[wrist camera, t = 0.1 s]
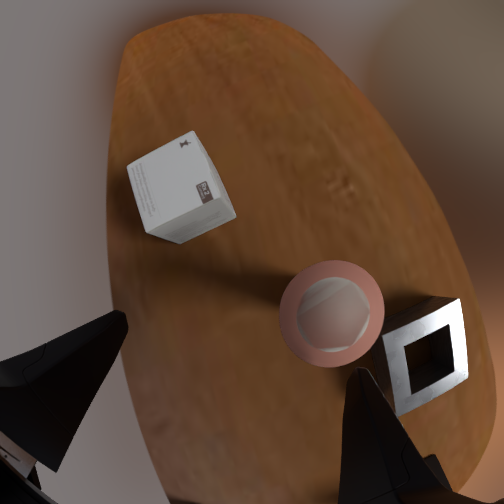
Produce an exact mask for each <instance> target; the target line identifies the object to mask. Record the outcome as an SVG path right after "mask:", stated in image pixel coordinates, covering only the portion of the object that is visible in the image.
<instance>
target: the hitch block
mask: <svg viewBox="0 0 504 504" xmlns="http://www.w3.org/2000/svg"><path fill="white" fill-rule="evenodd" d="M426 335H429V341H430V347H431V354H432V360H430V361H428V362H426V363H425V364H423V365H421V366H419V367H417V368H415V369H413V370H411V371H409V372H408V369H407V362H406V357H405V351H404V346H405V345H408V344H410V343H412V342H414V341H416V340H418V339H420V338H422V337H424V336H426ZM371 352H372V357H373V361H374V366H375V371H376V376H377V381H378V386H379V388H380V390H381V391H382V393H383V394H384V396H385V398H386V399H387V401H388V402H389V404H390V406H391V407H392V409H393V411H394V412H395V414H396V416H397V417H398V416H400V415H403V414H405V413H407V412H409V411H411V410H413V409H415V408H417V407H419V406H421V405H423V404H425V403H426V402H428V401H430V400H432V399H434V398H436V397H437V396H439V395H441V394H443V393H444V392H446V391H448V390H449V389H451V388H453V387H454V386H456V385H457V384H459V383H461V382H462V381H464V380H465V379H467V378H468V365H467V351H466V341H465V332H464V324H463V317H462V311H461V305H460V300H459V298H449V297H439V296H433V297H431V298H429V299H427V300H425V301H423V302H421V303H419V304H417V305H414V306H412V307H410V308H408V309H406V310H403V311H401V312H399V313H396V314H394V315H392V316H389V317H387V318H384V320H383V325H382V328H381V331H380V333H379V336H378V338H377V339H376V341H375V343H374V344H373V345H372V346H371Z"/></svg>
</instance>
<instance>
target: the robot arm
mask: <svg viewBox="0 0 504 504" xmlns="http://www.w3.org/2000/svg"><path fill="white" fill-rule="evenodd" d="M127 333H128V323H127V319H126V314H125V313H124V312H122V311H119V310H114V311H112V312H110V313H108V314H106V315H103V316H101V317H99V318H97V319H95V320H93V321H91V322H89V323H87V324H84V325H82V326H80V327H78V328H76V329H74V330H72V331H70V332H68V333H66V334H64V335H62V336H59V337H57V338H55V339H53V340H51V341H49V342H47V343H45V344H43V345H41V346H39V347H37V348H34V349H33V350H30V351H27V352H25V353H22V354H20V355H17V356H14V357H12V358H9V359H6V360H3V361H1V362H0V504H58V503H56V502H55V501H54V500H52V499H51V498H50V497H48V496H47V495H46V494H44V493H43V492H42V491H41V486H40V482H39V479H38V475H37V471H36V467H35V464H36V462H37V460H38V461H39V462H40V463H42V464H44V465H45V466H47V467H48V468H49V469H51V470H52V471H54V472H57V471H58V469H59V466H60V464H61V462H62V460H63V458H64V456H65V454H66V452H67V449H68V448H69V445H70V443H71V441H72V439H73V436H74V435H75V433H76V431H77V429H78V427H79V425H80V423H81V421H82V419H83V418H84V416H85V414H86V412H87V410H88V408H89V406H90V404H91V402H92V400H93V399H94V397H95V395H96V393H97V391H98V390H99V388H100V386H101V384H102V383H103V381H104V379H105V377H106V375H107V374H108V372H109V370H110V368H111V367H112V365H113V363H114V361H115V359H116V357H117V355H118V352H119V350H120V348H121V346H122V344H123V341H124V339H125V337H126V335H127ZM338 504H504V498H502V499H500V500H498V501H496V502H494V503H485V502H481V501H478V500H475V499H471V498H469V497H466V496H463V495H461V494H458V493H455V492H453V491H451V490H449V489H447V488H446V487H445V486H444V485H443V484H442V483H441V482H440V481H439V480H438V478H437V477H436V476H435V474H434V473H433V472H432V470H431V469H430V467H429V466H428V465H427V463H426V462H425V461H424V459H423V458H422V456H421V455H420V454H419V452H418V450H417V449H416V447H415V446H414V444H413V442H412V441H411V439H410V437H409V436H408V434H407V432H406V431H405V429H404V427H403V425H402V424H401V422H400V421H399V419H398V417H397V416H396V414H395V412H394V411H393V409H392V407H391V406H390V404H389V402H388V401H387V399H386V398H385V396H384V394H383V393H382V391H381V390H380V388H379V386H378V385H377V383H376V382H375V380H374V378H373V377H372V375H371V374H370V372H369V370H368V369H367V368H364V367H356V368H355V369H354V371H353V373H352V374H351V376H350V377H349V379H348V382H347V387H346V396H345V405H344V412H343V424H342V455H341V473H340V486H339V497H338Z"/></svg>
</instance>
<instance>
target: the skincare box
mask: <svg viewBox="0 0 504 504" xmlns="http://www.w3.org/2000/svg"><path fill="white" fill-rule="evenodd" d="M127 170H128V174H129V178H130V182H131V186H132V189H133V193H134V196H135V200H136V203H137V206H138V210H139V213H140V216H141V219H142V222H143V225H144V228H145V231H146V233H149V234H151V235H154V236H157V237H160V238H163V239H166V240H169V241H172V242H175V243H177V244H182V243H184V242H186V241H188V240H190V239H192V238H194V237H196V236H198V235H200V234H203V233H205V232H207V231H209V230H211V229H213V228H215V227H217V226H219V225H221V224H223V223H226V222H228V221H230V220H232V219H234V218H236V214H235V211H234V209H233V206H232V204H231V202H230V199H229V197H228V195H227V192H226V190H225V187H224V185H223V183H222V181H221V179H220V177H219V175H218V172H217V170H216V168H215V166H214V165H213V163H212V161H211V159H210V157H209V156H208V154H207V152H206V151H205V149H204V147H203V146H202V144H201V142H200V141H199V139H198V137H197V136H196V134H195V132H194V131H190V132H188V133H186V134H184V135H183V136H181V137H179V138H177V139H175V140H173V141H171V142H169V143H167V144H166V145H164V146H162V147H160V148H158V149H156V150H154V151H152V152H151V153H149V154H147V155H145V156H143V157H141V158H140V159H138V160H136V161H134V162H133V163H131V164H129V165H128V166H127Z"/></svg>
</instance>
